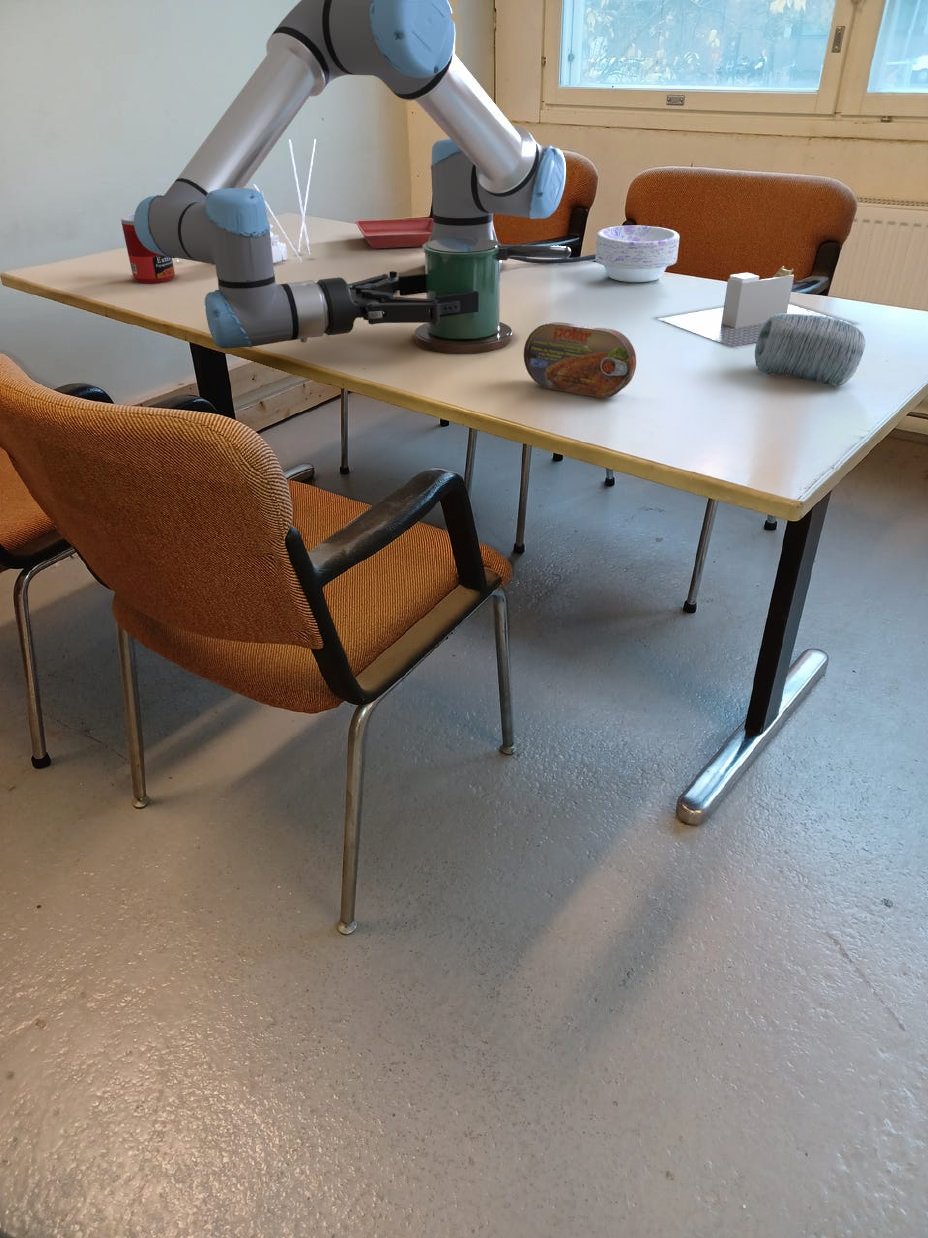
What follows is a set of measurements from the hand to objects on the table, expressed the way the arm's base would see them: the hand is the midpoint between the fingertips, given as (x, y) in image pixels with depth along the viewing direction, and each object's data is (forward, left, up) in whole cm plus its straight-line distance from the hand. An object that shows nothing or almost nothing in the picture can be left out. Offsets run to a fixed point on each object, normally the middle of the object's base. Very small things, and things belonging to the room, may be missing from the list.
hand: (457, 290), depth 131 cm
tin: (-3, +28, -7) cm, 29 cm away
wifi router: (+9, -72, -7) cm, 73 cm away
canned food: (+32, -65, -7) cm, 73 cm away
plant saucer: (-24, -73, -7) cm, 77 cm away
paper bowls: (-48, -19, -7) cm, 52 cm away
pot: (-5, +3, -6) cm, 8 cm away
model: (-46, +15, -7) cm, 49 cm away
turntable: (-1, 0, -7) cm, 7 cm away
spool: (-32, +39, -7) cm, 51 cm away
